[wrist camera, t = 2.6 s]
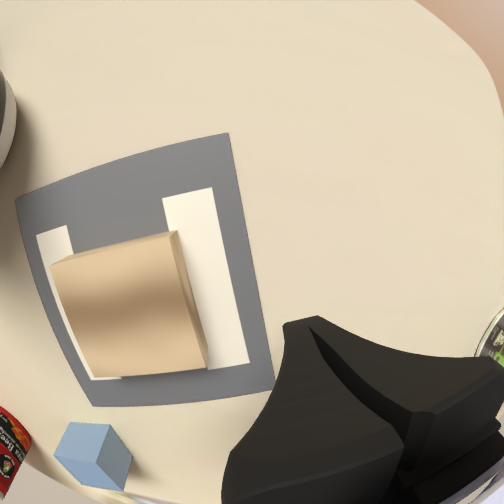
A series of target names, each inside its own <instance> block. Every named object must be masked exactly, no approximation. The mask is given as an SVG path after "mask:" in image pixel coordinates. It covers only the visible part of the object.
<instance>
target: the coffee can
mask: <svg viewBox="0 0 504 504" xmlns="http://www.w3.org/2000/svg"><path fill="white" fill-rule="evenodd" d="M480 356H490V357H492V358H493V359H494V360H496V361H497V362H498V363H499V364H501V365H502V366H503V367H504V308H503V309H502V310H501V311H500V312H499V313H498V315H497V316H496V317H495V318H494V320H493V321H492V322H491V324H490V326H489V327H488V329H487V330H486V332H485V334H484V336H483V338H482V340H481V342H480V344H479V346H478V348H477V351H476V354H475V357H480ZM503 402H504V401H503Z"/></svg>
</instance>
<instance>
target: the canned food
mask: <svg viewBox="0 0 504 504" xmlns="http://www.w3.org/2000/svg"><path fill="white" fill-rule="evenodd" d="M30 446H31V439H30V436H29V434H28V433H27V431H26V430H25V428H24V427H23V426H22V425H21V424H20V423H19V421H18V420H17V419H16V418H15V417H13V416H12V415H11V414H10V413H9V412H8V411H6V410H5V409H4V408H2V407H1V406H0V500H3V499H4V498H5V495H6V493H7V492H8V490H9V487H10V485H11V483H12V481H13V479H14V477H15V475H16V473H17V471H18V469H19V467H20V466H21V464H22V462H23V460H24V458H25V456H26V454H27V452H28V451H29V449H30Z"/></svg>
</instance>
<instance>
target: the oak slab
mask: <svg viewBox="0 0 504 504" xmlns="http://www.w3.org/2000/svg"><path fill="white" fill-rule="evenodd" d="M49 267H50V271H51V274H52V277H53V280H54V283H55V286H56V289H57V292H58V295H59V298H60V301H61V303H62V306H63V309H64V311H65V314H66V317H67V319H68V322H69V324H70V326H71V329H72V331H73V334H74V336H75V338H76V340H77V343H78V345H79V347H80V349H81V351H82V353H83V356H84V358H85V360H86V362H87V364H88V366H89V368H90V370H91V372H92V374H93V376H94V377H95V378H100V377H120V376H135V375H147V374H158V373H167V372H176V371H184V370H192V369H199V368H206V362H207V351H208V345H207V341H206V338H205V335H204V331H203V328H202V324H201V321H200V317H199V314H198V310H197V307H196V303H195V299H194V296H193V292H192V288H191V284H190V281H189V277H188V273H187V269H186V265H185V261H184V257H183V253H182V248H181V244H180V240H179V235H178V231H177V230H173V231H169V232H164V233H160V234H155V235H151V236H146V237H142V238H138V239H134V240H129V241H125V242H121V243H117V244H113V245H108V246H104V247H100V248H96V249H92V250H88V251H84V252H81V253H77V254H73V255H69V256H67V257H65V258H63V259H61V260H59V261H57V262H55V263H53V264H52V265H50V266H49Z"/></svg>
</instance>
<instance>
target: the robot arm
mask: <svg viewBox="0 0 504 504" xmlns="http://www.w3.org/2000/svg"><path fill="white" fill-rule="evenodd" d="M282 327H283V333H284V340H285V345H284V354H283V359H282V363H281V367H280V371H279V374H278V377H277V380H276V383H275V386H274V388H273V390H272V393H271V395H270V397H269V399H268V401H267V403H266V405H265V407H264V408H263V410H262V412H261V413H260V415H259V416H258V418H257V419H256V421H255V422H254V424H253V425H252V427H251V428H250V429H249V431H248V432H247V433H246V434H245V436H244V437H243V438H242V439H241V440H240V441H239V443H238V444H237V445H236V446H235V447H234V448H233V449H232V451H231V452H230V454H229V457H228V461H227V464H226V468H225V472H224V476H223V482H222V490H221V501H222V504H456V503H458V502H459V501H461V500H462V499H464V498H465V497H467V496H468V495H469V494H471V493H472V492H474V491H475V490H476V489H478V488H479V487H480V486H482V485H483V484H484V483H485V482H487V481H488V480H489V479H490V478H492V477H493V476H494V475H495V474H496V475H495V476H494V478H493V479H492V481H491V482H490V483H489V485H488V486H487V487H486V488H485V489H484V490H483V491H482V492H481V494H480V495H479V496H477V497H476V498H475V499H474V500H473V501H471V502H470V503H468V504H504V437H503V436H502V435H501V434H500V432H499V431H498V430H499V429H500V427H501V423H500V422H499V421H498V420H497V419H496V418H495V417H496V415H497V413H498V411H499V409H500V407H501V405H502V403H503V401H504V367H503V366H502V365H501V364H499V363H498V362H497V361H496V360H494V359H493V358H492V357H490V356H480V357H464V358H452V357H435V356H426V355H420V354H414V353H408V352H404V351H399V350H396V349H392V348H389V347H385V346H382V345H379V344H376V343H374V342H371V341H369V340H366V339H364V338H361V337H359V336H357V335H355V334H353V333H350V332H348V331H346V330H344V329H342V328H340V327H339V326H337V325H335V324H333V323H331V322H329V321H327V320H326V319H324V318H322V317H320V316H318V315H317V316H313V317H308V318H304V319H300V320H296V321H291V322H287V323H285V324H284V325H283V326H282ZM502 468H503V469H502ZM501 469H502V470H501ZM500 470H501V471H500ZM499 471H500V472H499ZM498 472H499V473H498ZM497 473H498V474H497Z"/></svg>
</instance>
